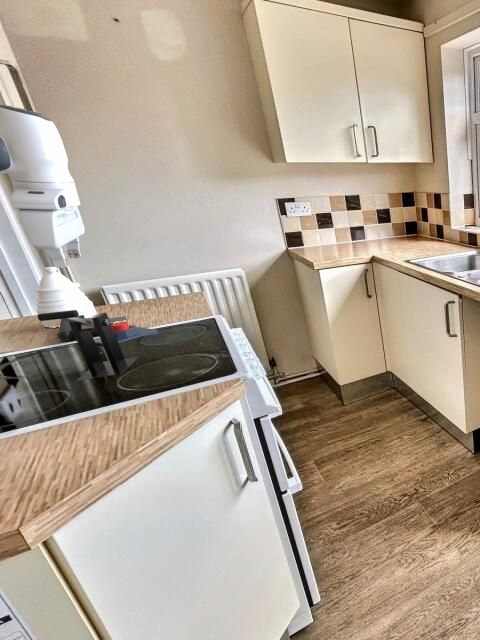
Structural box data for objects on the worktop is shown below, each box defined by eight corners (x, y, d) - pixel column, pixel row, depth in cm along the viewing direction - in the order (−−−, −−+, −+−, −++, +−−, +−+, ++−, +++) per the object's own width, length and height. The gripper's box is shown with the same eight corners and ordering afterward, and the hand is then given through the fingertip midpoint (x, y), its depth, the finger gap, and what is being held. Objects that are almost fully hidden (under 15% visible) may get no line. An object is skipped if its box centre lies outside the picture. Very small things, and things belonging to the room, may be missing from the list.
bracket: (123, 378, 95) (99, 320, 90) (77, 385, 92) (50, 326, 87) (140, 361, 104) (120, 307, 99) (99, 367, 101) (76, 312, 96)
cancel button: (118, 332, 115) (115, 326, 115) (110, 331, 116) (107, 325, 116) (133, 328, 118) (130, 322, 118) (125, 327, 120) (122, 321, 119)
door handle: (124, 310, 139) (54, 318, 129) (127, 323, 126) (49, 334, 115) (126, 319, 140) (57, 329, 130) (130, 334, 127) (53, 345, 116)
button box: (110, 350, 112) (105, 338, 111) (90, 346, 115) (85, 334, 114) (159, 335, 122) (155, 323, 121) (139, 332, 125) (135, 321, 124)
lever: (75, 318, 84) (73, 306, 84) (38, 322, 82) (36, 310, 82) (110, 328, 96) (109, 318, 96) (79, 332, 94) (77, 321, 94)
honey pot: (104, 319, 139) (82, 264, 132) (50, 331, 129) (23, 272, 122) (91, 313, 145) (69, 261, 139) (38, 324, 135) (12, 269, 129)
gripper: (45, 190, 94) (64, 253, 99) (5, 200, 78) (30, 273, 83) (83, 192, 97) (100, 252, 102) (53, 201, 81) (74, 272, 86)
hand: (68, 262), depth 92 cm, fingers open, 8 cm apart
